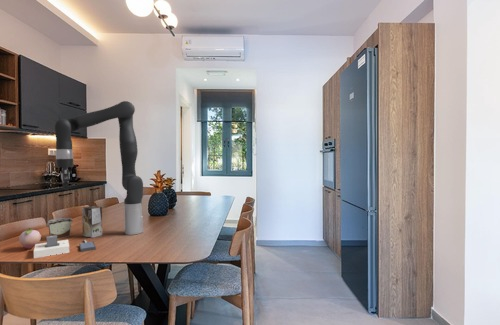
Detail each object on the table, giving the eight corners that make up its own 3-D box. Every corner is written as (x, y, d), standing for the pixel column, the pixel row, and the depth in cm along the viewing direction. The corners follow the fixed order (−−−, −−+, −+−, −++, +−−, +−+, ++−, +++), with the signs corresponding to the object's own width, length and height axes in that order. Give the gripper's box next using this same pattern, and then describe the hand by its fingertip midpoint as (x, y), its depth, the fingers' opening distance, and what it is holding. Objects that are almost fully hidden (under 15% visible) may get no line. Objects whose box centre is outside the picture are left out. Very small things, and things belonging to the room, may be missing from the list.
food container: (67, 234, 163) (66, 216, 163) (72, 235, 160) (72, 217, 159) (42, 239, 152) (42, 221, 152) (48, 241, 149) (47, 222, 149)
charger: (57, 249, 135) (56, 234, 135) (57, 251, 131) (57, 236, 131) (46, 251, 132) (46, 236, 132) (46, 253, 129) (46, 238, 129)
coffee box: (103, 235, 160) (102, 206, 160) (92, 238, 154) (91, 208, 154) (92, 233, 164) (92, 205, 164) (81, 236, 159) (81, 207, 158)
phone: (91, 239, 150) (91, 237, 150) (95, 249, 134) (95, 246, 134) (78, 241, 147) (78, 239, 147) (81, 251, 131) (81, 249, 131)
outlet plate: (68, 245, 141) (68, 239, 141) (69, 252, 130) (69, 245, 130) (35, 250, 134) (35, 244, 133) (33, 258, 123) (33, 251, 123)
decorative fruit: (42, 248, 136) (42, 228, 136) (20, 252, 131) (20, 231, 130) (39, 244, 143) (39, 224, 143) (18, 248, 137) (18, 227, 137)
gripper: (74, 158, 143) (75, 189, 144) (72, 158, 155) (73, 187, 155) (56, 158, 139) (57, 191, 139) (55, 158, 151) (56, 188, 151)
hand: (65, 189), depth 147 cm, fingers open, 8 cm apart
